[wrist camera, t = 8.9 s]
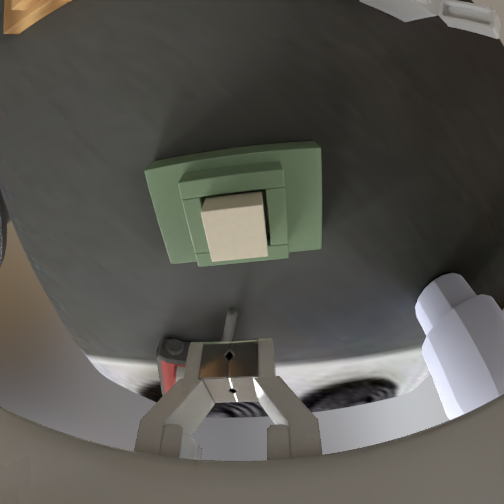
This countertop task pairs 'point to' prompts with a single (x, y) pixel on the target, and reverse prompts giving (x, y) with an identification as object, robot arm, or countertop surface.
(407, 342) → the countertop surface
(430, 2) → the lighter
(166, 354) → the walkie-talkie
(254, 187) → the key block
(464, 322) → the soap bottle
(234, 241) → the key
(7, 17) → the key block
